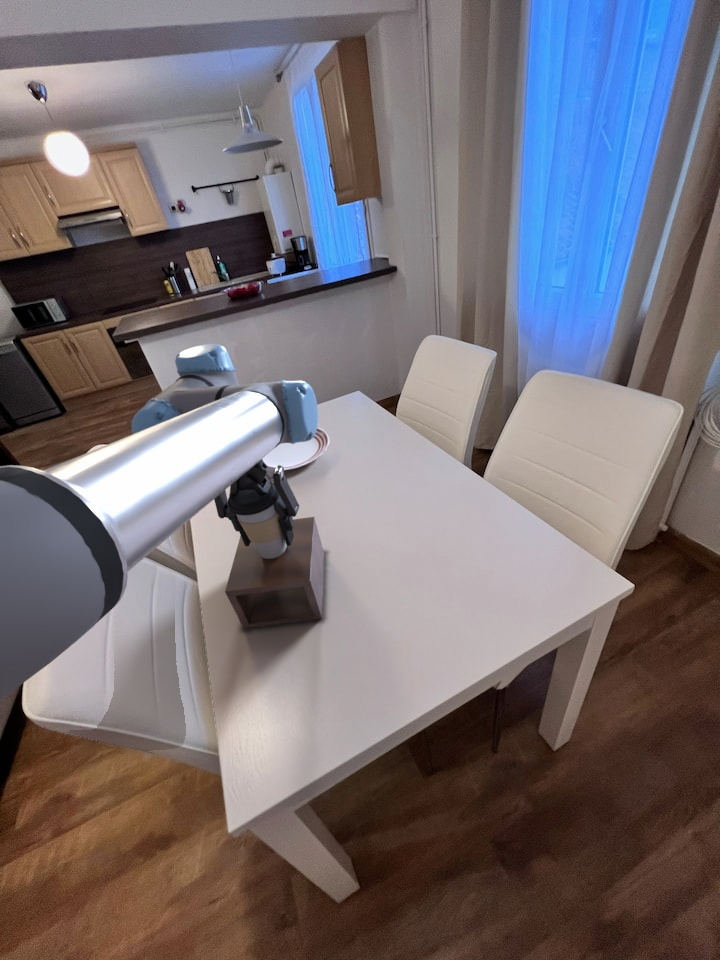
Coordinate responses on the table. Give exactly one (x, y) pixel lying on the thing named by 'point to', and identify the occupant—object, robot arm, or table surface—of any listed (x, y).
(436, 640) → the table surface
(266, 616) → the wooden cubby box
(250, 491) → the coffee cup
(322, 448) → the dinner plate
